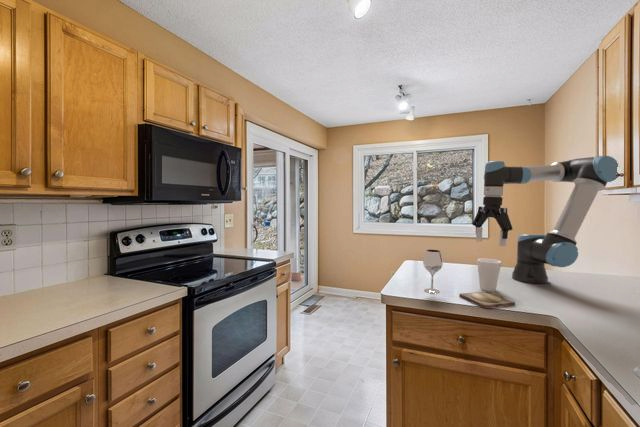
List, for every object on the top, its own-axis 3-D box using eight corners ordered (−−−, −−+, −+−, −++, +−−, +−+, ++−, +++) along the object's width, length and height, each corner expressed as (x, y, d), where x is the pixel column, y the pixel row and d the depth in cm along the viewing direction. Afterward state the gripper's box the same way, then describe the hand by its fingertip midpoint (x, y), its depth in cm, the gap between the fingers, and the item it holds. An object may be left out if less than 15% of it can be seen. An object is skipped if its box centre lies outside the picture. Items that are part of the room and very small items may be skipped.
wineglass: (421, 292, 136) (423, 251, 135) (422, 287, 144) (423, 248, 143) (442, 295, 134) (443, 253, 132) (441, 289, 141) (443, 249, 140)
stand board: (486, 294, 135) (487, 290, 135) (514, 305, 122) (514, 301, 122) (459, 296, 132) (459, 292, 132) (484, 308, 118) (485, 304, 118)
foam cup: (502, 292, 137) (504, 263, 136) (479, 291, 139) (481, 262, 138) (495, 286, 147) (496, 259, 146) (473, 285, 148) (475, 258, 148)
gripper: (465, 195, 151) (463, 239, 152) (509, 196, 127) (506, 248, 128) (478, 196, 153) (476, 239, 154) (524, 197, 129) (521, 248, 130)
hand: (490, 243), depth 141 cm, fingers open, 13 cm apart
